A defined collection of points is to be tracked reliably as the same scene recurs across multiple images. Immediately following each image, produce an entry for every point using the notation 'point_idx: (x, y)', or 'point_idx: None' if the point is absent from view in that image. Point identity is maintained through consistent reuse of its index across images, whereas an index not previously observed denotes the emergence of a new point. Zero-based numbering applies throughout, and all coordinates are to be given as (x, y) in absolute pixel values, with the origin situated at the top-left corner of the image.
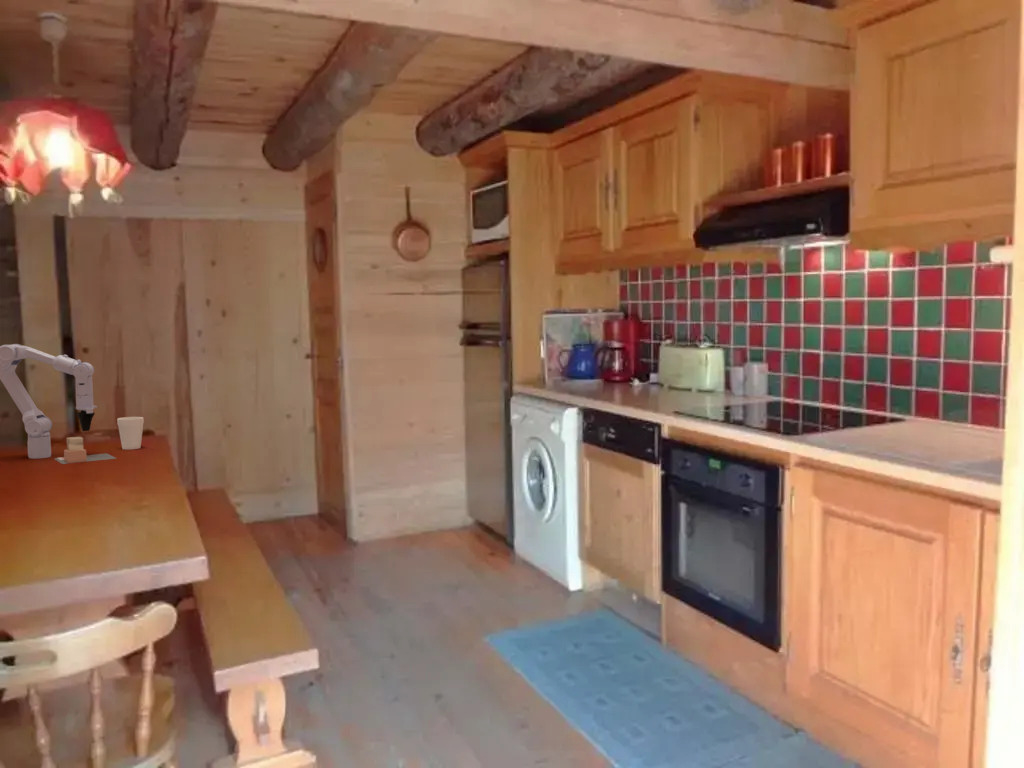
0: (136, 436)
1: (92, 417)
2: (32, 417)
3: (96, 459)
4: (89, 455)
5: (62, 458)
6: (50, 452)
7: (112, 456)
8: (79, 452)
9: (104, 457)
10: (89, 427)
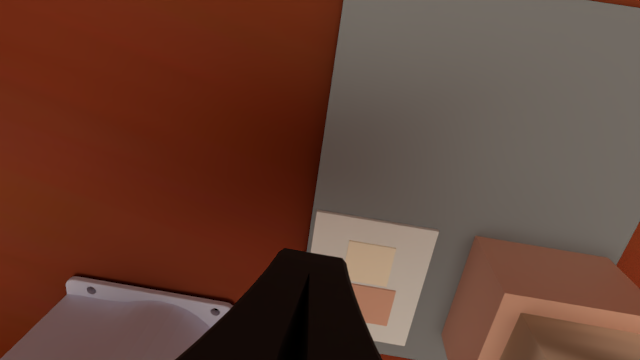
0: None
1: None
2: None
3: (608, 180)
4: (348, 134)
5: (366, 322)
6: (176, 337)
7: (592, 7)
8: None
9: (573, 89)
10: (354, 297)
